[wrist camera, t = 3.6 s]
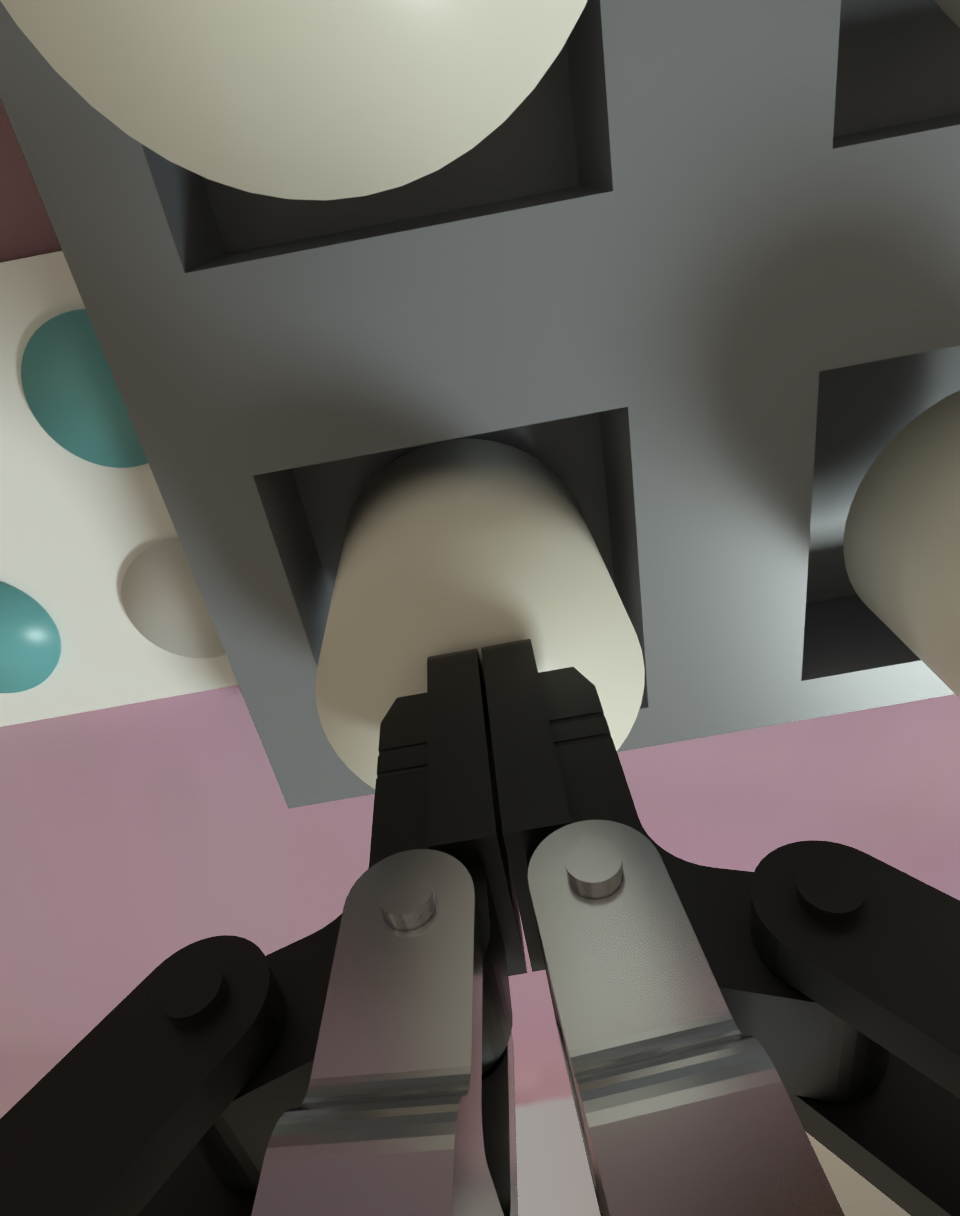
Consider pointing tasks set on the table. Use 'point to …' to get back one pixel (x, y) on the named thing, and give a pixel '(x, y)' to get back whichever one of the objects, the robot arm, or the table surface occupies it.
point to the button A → (302, 81)
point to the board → (557, 341)
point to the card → (83, 525)
